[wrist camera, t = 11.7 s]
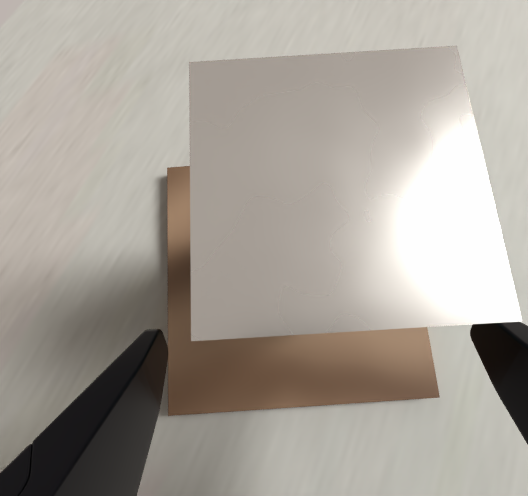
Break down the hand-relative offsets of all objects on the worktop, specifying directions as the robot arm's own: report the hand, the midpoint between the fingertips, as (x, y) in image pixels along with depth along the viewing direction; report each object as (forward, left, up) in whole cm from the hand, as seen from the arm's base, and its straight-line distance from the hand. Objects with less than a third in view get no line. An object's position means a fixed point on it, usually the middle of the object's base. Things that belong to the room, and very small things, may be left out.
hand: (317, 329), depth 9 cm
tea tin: (+3, 0, -8) cm, 8 cm away
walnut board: (+3, 0, -9) cm, 10 cm away
